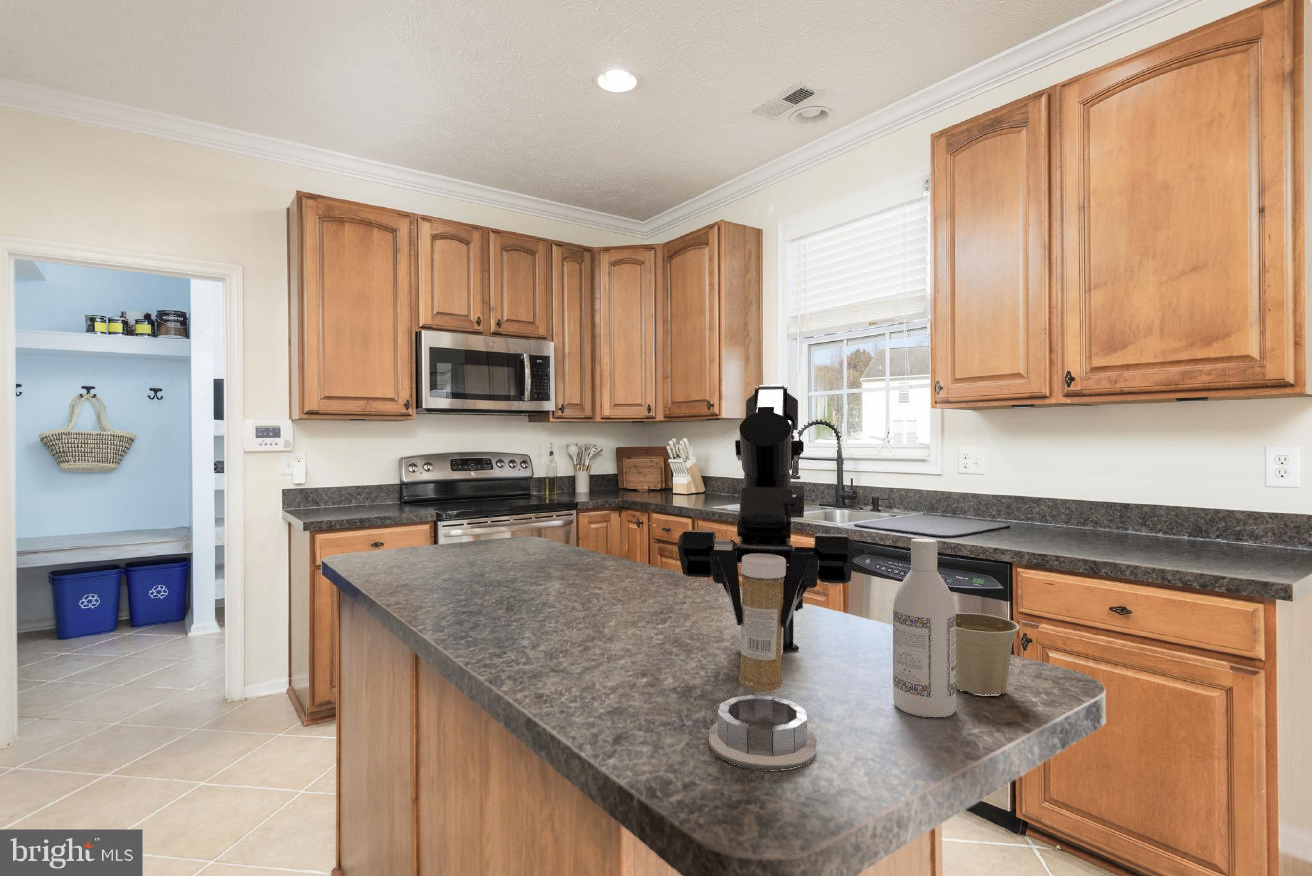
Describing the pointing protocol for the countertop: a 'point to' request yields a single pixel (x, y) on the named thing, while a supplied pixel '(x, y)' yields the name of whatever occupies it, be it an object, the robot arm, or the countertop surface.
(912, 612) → the bath foam
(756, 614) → the sprinkles bottle
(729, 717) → the socket
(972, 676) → the flower pot
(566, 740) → the countertop surface
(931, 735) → the countertop surface
